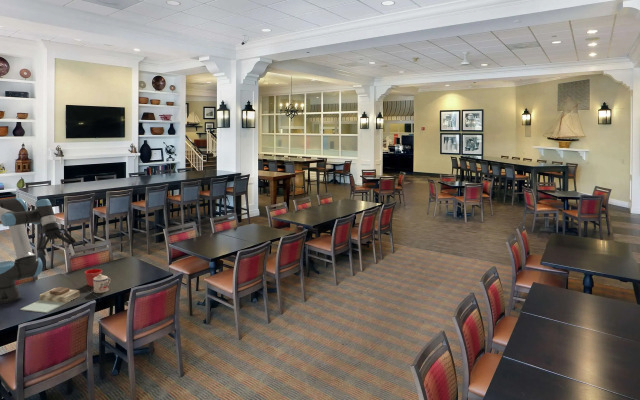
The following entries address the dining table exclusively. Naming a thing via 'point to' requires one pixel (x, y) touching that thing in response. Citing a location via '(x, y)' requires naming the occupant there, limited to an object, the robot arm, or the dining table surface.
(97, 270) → the flower pot
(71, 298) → the birch deck
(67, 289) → the walnut tile
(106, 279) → the teacup with lid
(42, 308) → the sage mat
